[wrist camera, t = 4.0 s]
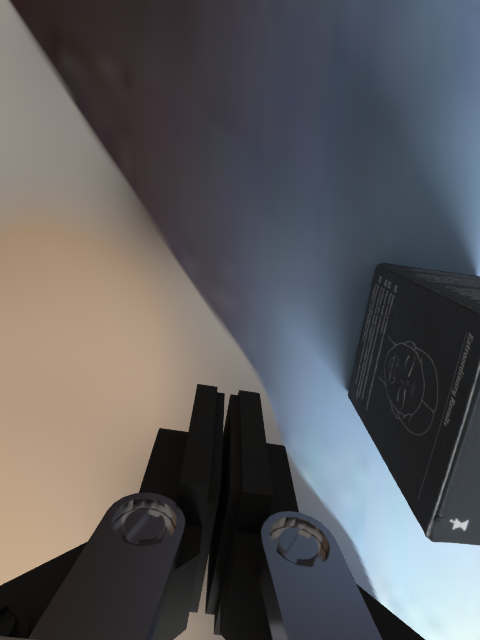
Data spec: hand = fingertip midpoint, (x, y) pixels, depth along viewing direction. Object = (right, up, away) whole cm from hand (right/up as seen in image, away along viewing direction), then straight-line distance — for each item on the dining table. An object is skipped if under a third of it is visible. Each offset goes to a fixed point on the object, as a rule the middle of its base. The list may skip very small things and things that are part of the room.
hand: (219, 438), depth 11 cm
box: (+10, +2, +12) cm, 16 cm away
